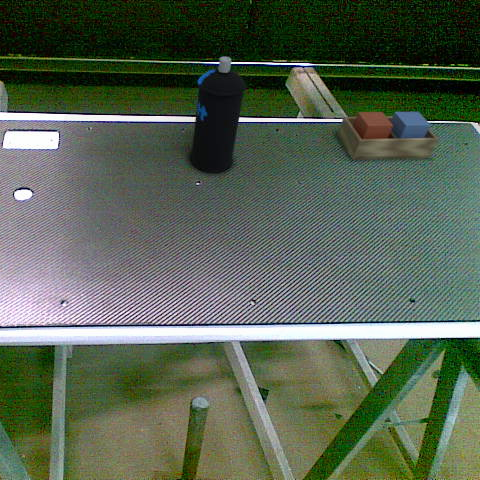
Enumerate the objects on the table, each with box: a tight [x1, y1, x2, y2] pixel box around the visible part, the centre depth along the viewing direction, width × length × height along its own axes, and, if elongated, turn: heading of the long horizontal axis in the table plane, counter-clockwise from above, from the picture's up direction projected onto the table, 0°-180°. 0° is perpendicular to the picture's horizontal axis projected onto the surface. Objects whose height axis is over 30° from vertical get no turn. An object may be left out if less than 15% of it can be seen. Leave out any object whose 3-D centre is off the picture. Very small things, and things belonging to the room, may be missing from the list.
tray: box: [336, 115, 440, 161], centre depth 95 cm, size 16×9×4 cm, turn 95°
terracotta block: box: [353, 111, 393, 139], centre depth 94 cm, size 5×5×6 cm
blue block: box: [391, 111, 431, 139], centre depth 94 cm, size 5×5×6 cm
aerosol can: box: [189, 55, 247, 174], centre depth 84 cm, size 8×8×20 cm
